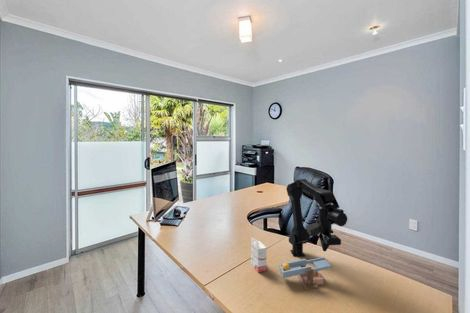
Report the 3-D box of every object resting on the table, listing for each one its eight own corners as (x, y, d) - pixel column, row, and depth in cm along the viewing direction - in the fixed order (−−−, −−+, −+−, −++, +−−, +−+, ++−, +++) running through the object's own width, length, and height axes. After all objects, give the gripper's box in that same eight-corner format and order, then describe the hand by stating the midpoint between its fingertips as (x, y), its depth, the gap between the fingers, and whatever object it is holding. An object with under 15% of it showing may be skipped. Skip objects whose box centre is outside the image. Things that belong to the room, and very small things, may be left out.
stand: (308, 272, 108) (308, 257, 107) (318, 288, 96) (318, 271, 96) (295, 273, 107) (296, 257, 107) (304, 289, 96) (304, 271, 95)
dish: (317, 275, 106) (317, 269, 105) (324, 284, 98) (324, 278, 98) (297, 275, 105) (297, 270, 105) (302, 285, 98) (302, 279, 98)
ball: (284, 270, 103) (279, 264, 102) (290, 265, 103) (285, 260, 102) (286, 274, 99) (281, 269, 99) (292, 270, 99) (288, 264, 99)
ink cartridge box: (267, 270, 110) (267, 241, 108) (258, 273, 108) (258, 243, 107) (259, 261, 118) (259, 234, 116) (250, 263, 116) (250, 236, 115)
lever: (324, 259, 105) (323, 254, 105) (331, 268, 98) (331, 263, 98) (279, 269, 104) (278, 263, 104) (283, 278, 97) (282, 273, 97)
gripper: (300, 212, 112) (300, 242, 113) (316, 226, 94) (315, 262, 95) (322, 211, 113) (321, 241, 114) (342, 225, 94) (341, 261, 96)
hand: (324, 250), depth 105 cm, fingers closed
